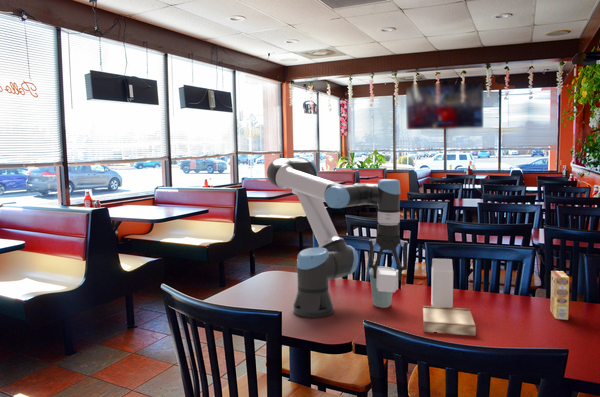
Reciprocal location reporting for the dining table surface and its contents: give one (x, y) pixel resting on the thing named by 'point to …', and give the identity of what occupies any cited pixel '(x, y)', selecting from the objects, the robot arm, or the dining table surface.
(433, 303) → the milk carton
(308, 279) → the robot arm
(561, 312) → the candy box
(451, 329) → the board
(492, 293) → the dining table surface
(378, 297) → the disposable coffee cup
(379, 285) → the white cube
